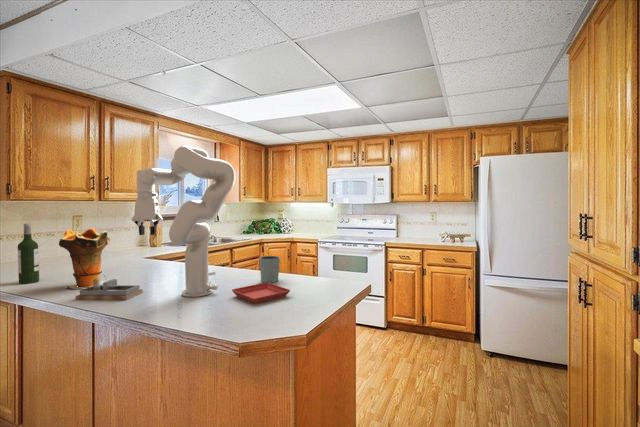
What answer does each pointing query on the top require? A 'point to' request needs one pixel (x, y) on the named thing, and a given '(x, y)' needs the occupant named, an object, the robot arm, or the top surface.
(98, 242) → the decorative vase
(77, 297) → the keeper
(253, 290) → the plant saucer
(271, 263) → the grey green bin
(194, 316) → the top surface
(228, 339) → the top surface
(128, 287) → the grey rectangular tray
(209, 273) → the adjustable wrench
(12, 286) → the top surface
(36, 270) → the wine bottle
